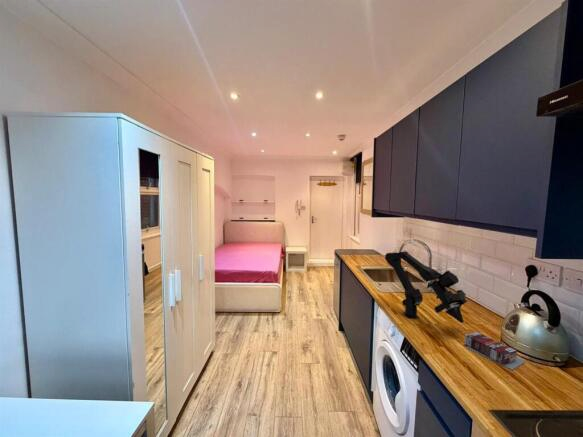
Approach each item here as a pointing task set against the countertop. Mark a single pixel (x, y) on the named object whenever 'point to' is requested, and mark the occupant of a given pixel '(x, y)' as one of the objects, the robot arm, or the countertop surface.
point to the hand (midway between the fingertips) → (462, 322)
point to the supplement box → (490, 348)
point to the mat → (509, 365)
